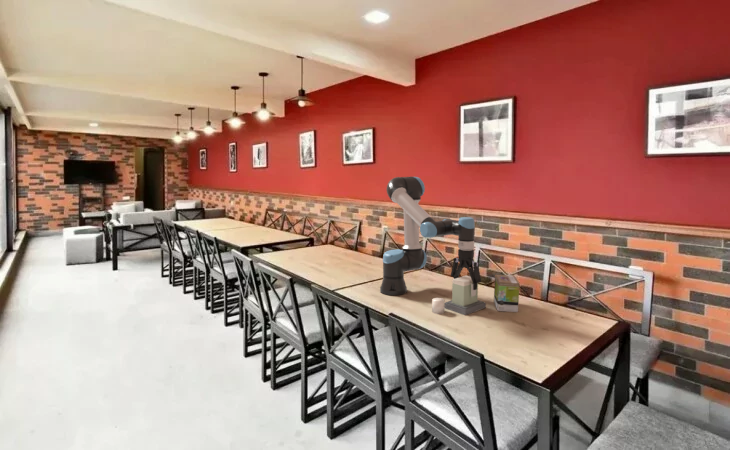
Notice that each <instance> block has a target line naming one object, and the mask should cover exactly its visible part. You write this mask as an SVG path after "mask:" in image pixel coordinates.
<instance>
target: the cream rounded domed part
mask: <svg viewBox="0 0 730 450" xmlns="http://www.w3.org/2000/svg"><path fill="white" fill-rule="evenodd" d="M445 303H446V301H445V298H443V297H434V298H432V299H431V312H432V313H433V314H435V315H436V314H437V315H442V314H445V311H446V308H445Z"/></svg>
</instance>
